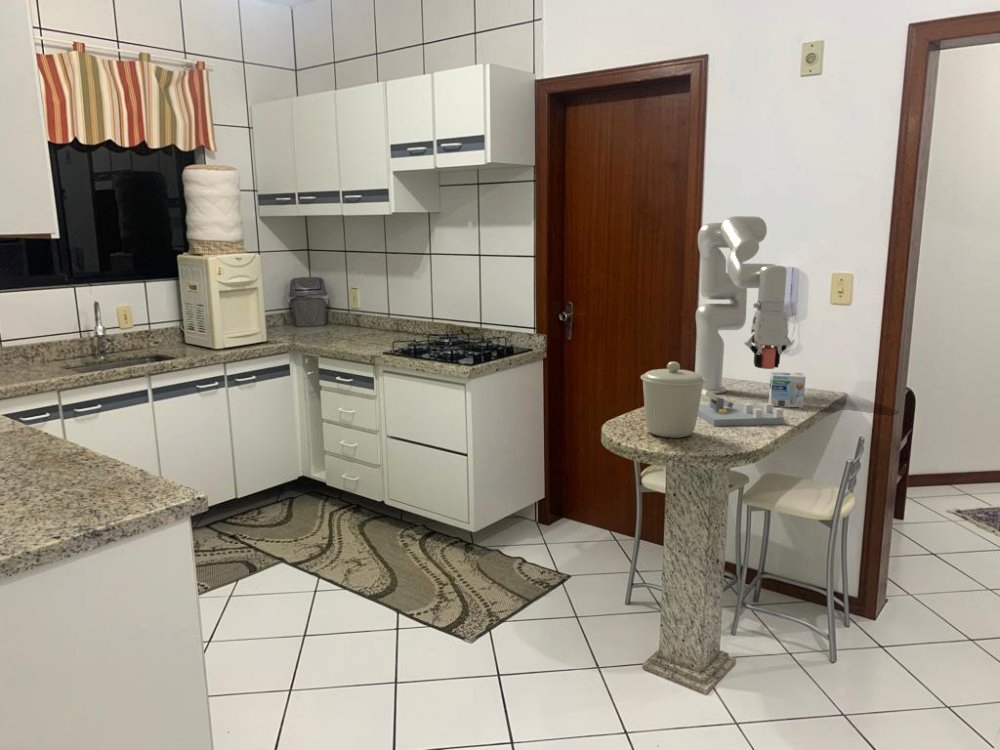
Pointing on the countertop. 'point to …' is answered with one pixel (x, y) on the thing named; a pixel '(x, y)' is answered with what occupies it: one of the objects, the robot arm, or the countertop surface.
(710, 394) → the lever
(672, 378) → the canister
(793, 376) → the light bulb box
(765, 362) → the cap
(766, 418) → the panel
